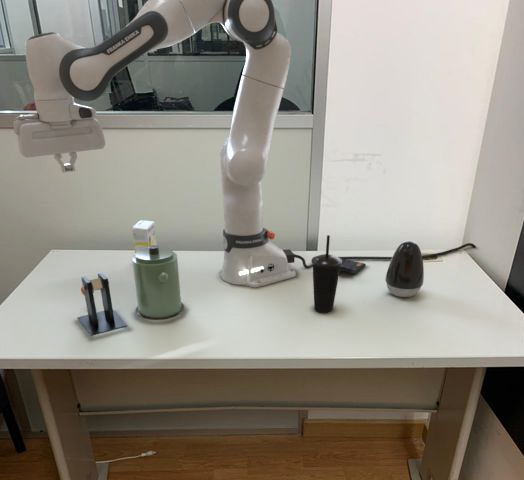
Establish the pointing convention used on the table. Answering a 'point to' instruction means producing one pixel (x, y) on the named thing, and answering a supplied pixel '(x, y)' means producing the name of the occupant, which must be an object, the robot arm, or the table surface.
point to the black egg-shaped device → (405, 270)
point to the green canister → (157, 283)
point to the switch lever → (94, 285)
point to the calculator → (351, 266)
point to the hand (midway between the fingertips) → (68, 171)
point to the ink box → (144, 234)
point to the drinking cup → (325, 280)
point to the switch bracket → (103, 319)
